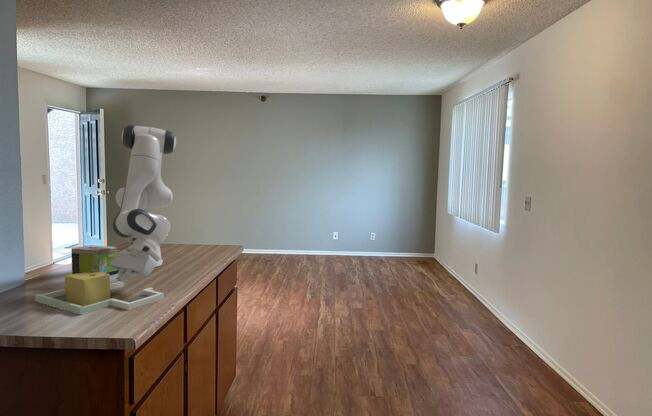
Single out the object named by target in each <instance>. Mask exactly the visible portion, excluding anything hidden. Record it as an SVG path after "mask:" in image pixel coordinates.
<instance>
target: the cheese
mask: <svg viewBox="0 0 652 416" xmlns="http://www.w3.org/2000/svg"><path fill="white" fill-rule="evenodd" d="M64 289H65V292H66V297H67V300H66V302H69V303H72V304H76V305H80V306H83V307H84V306H87V305H91V304H94V303H98V302H102V301H105V300H109V299H111V290H110V274H108V273H104V272H93V273H86V272H85V273H78V274H72V273H71V274H66V275H65V277H64Z"/></svg>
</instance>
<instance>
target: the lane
mask: <svg viewBox="0 0 652 416" xmlns="http://www.w3.org/2000/svg"><path fill="white" fill-rule="evenodd" d="M122 287H125V281H124V282H121V281H117V282H114V283H111V284H110V291H112V290H115V289H116V290H117V289H119V288H122ZM34 296H35V297H34V301H35V302H36V303H38V302H39V304H42V303H43V305H45V304H47V305H46V306H48V305H51V306H50V307H52V306H55V307H58V308H57V309H59V308H62V309H65V310H67V311H66V312H69V311H70V313H72V312H74V313H73V314H75V313H78V314H77V315H79V314H82V315H84V314H83V313H85V314H87V313H86V312H88V313H91V312H90V311H92V312H94V310H95V311H98V310H101V308H102V309H104V307H105V308H108V307H111V306H112V307H116V308H119V309H124V310H127V311H131V310H133V308H134V309H136V307H137V308H139V307H142V306H147V305H149V304H152V303H154V302H155V303H156V302H158V301H160V300H164V299H165V295H164V292H161V291H155V290H154V287H148V288H145V289H142V290H141V295H139V296H136V297H133V298H129V299H126V300H120V299H116V298H110V299H109V300H105V301H102V302H98V303H94V304H91V305H87V306H84V307H83V306H80V305H76V304H72V303H69V302H68V301H67V297H66V292H65V288H64V289H58V290H56V291H52V292H47V293H42V294H40V293H36V294H34ZM65 300H66V301H65ZM55 307H54V308H55ZM62 309H61V310H62ZM97 309H98V310H97ZM65 310H64V311H65Z"/></svg>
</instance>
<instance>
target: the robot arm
mask: <svg viewBox="0 0 652 416" xmlns="http://www.w3.org/2000/svg"><path fill="white" fill-rule="evenodd" d="M121 142H122V145H123V147H125V148H127V149H129V150H131V153H130V158H129V165H128V172H127V178H126V182H125V183H126V184H125V187H121V188H119V189H118V190H117V191H116V194H115V201H116V204H117V205H118V207H119V211H118V213H117V214H116V215H115V217H114V218H113V220H112V228H113V231H114V232H115V234H116V235H118V236H119V237H121V238H129V239H130V240H129V241H130V242H131V243H130V245H129V246H128V247H127V248H125V249H122V250H120V251H118V254H117V255H116V256H115V257H114V258H113V259H112V260H111V262H110V266H111V267H112V268H114V269H116V270H118V277H117V278H116V280H118V281H117V282H120V281H121V282H124V283H125V281H126V280H127V279H129V278H130V277H131V276H132V275H133V274H136V275H139V276H145V277H147V276H149V275H150V274H151V273H152V272H153V270H154V268H157V267H160V266H162V265H163V263H164V261H163V259H162V254H161V247H160V245H161V244H162V243H163V242H164V240H165V239H166V237H167V236H168V235H169V232H170V230H171V223H170V221H169V219H168V218H166V217H165V216H163V215H162V214H154V213H151V212H148V211H146V210H148V209H151V210H152V209H162V208H167V207H169V206H170V205H172V202H173V199H174V194H173V192H172V190H171V189H170V188H169V187H167V186H166V185H165V184H164V182H163V180H162V175H161V174H162V170H161V169H162V161H163V160H162V159H163V155H170V154H172V153H173V152H174V150H175V149H176V146H177V137H176V135H175V133H174V132H173V131H170V130H165V129H162V128H157V127H149V126H142V125H135V124H129V125H126V126H125V127H124V128H123V130H122V132H121Z"/></svg>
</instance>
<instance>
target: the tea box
mask: <svg viewBox="0 0 652 416" xmlns="http://www.w3.org/2000/svg"><path fill="white" fill-rule="evenodd" d="M70 250H71V274H78V273H85V272H86V273H93V272H104V273H108V274H110V284H112V283H116V282H119V281H118V280H116V278H117V277H118V275H119V270H116V269H114V268H112V267H111V266H110V262H111V260H112V259H113V258H114V257H115V256H116V255H117V254H118V253H119V248H118V246H109V245H108V246H107V245H94V244H91V245H90V244H89V245H85V246H79V247H72V248H71V249H70Z"/></svg>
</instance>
